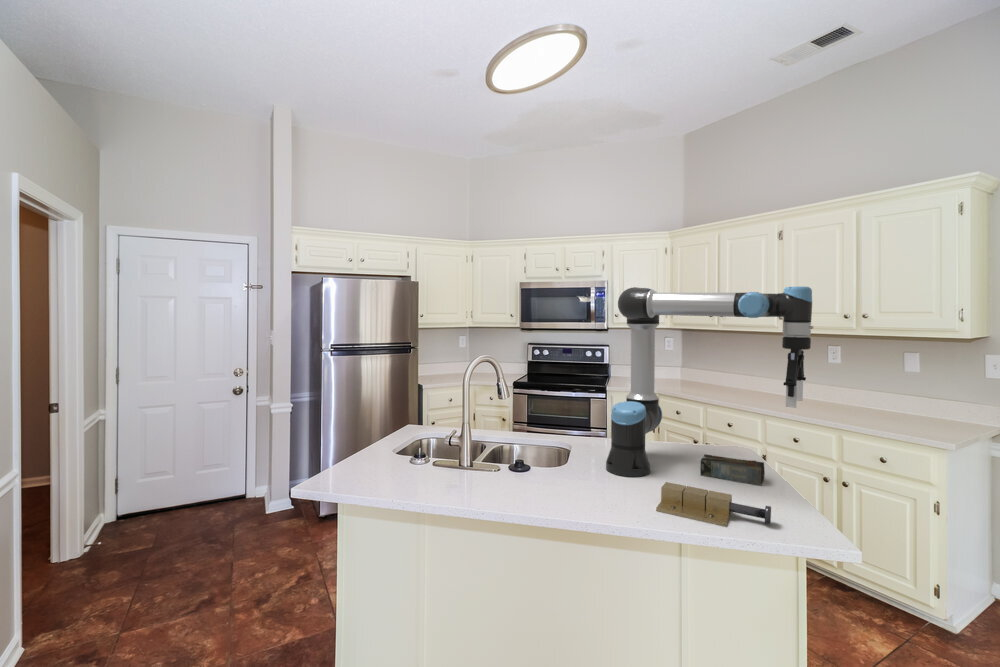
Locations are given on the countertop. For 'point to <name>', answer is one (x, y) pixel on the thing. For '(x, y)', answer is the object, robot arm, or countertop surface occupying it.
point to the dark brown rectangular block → (732, 469)
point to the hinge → (695, 503)
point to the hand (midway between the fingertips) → (794, 403)
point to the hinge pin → (752, 511)
